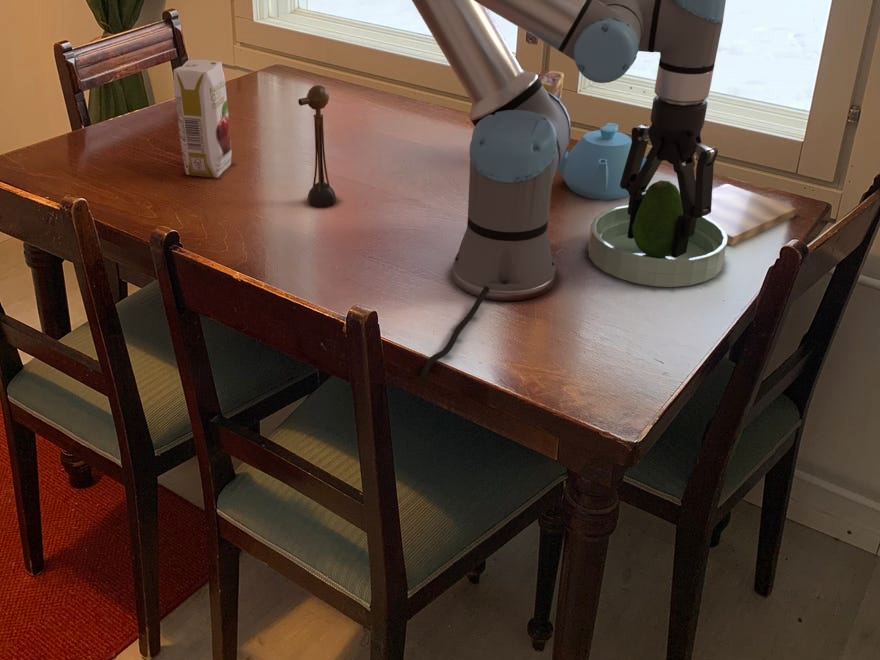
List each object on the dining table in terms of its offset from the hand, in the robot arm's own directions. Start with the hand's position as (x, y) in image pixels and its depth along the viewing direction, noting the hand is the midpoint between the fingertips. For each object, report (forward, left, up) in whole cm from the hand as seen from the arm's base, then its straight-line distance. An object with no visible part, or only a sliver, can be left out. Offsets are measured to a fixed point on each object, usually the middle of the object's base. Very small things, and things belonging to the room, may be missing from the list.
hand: (656, 244), depth 155 cm
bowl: (0, 0, -2) cm, 2 cm away
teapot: (+15, +24, -2) cm, 28 cm away
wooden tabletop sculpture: (-28, +50, -2) cm, 57 cm away
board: (+22, +2, -2) cm, 22 cm away
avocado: (0, 0, -2) cm, 2 cm away
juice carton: (-35, +75, -2) cm, 83 cm away
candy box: (+17, +41, -2) cm, 44 cm away
